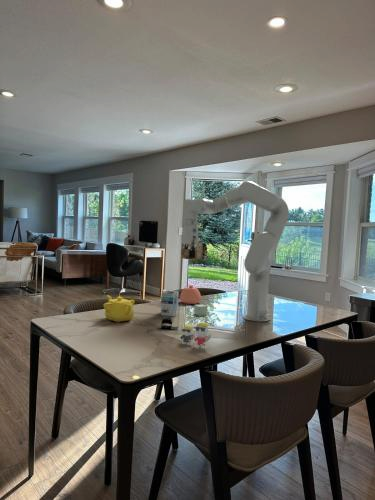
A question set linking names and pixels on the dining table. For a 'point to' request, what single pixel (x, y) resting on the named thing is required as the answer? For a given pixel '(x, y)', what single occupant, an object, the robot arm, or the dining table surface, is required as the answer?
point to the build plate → (163, 327)
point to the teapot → (119, 309)
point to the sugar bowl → (190, 295)
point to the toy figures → (201, 335)
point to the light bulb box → (169, 303)
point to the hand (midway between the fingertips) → (188, 257)
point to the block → (187, 254)
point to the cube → (200, 310)
